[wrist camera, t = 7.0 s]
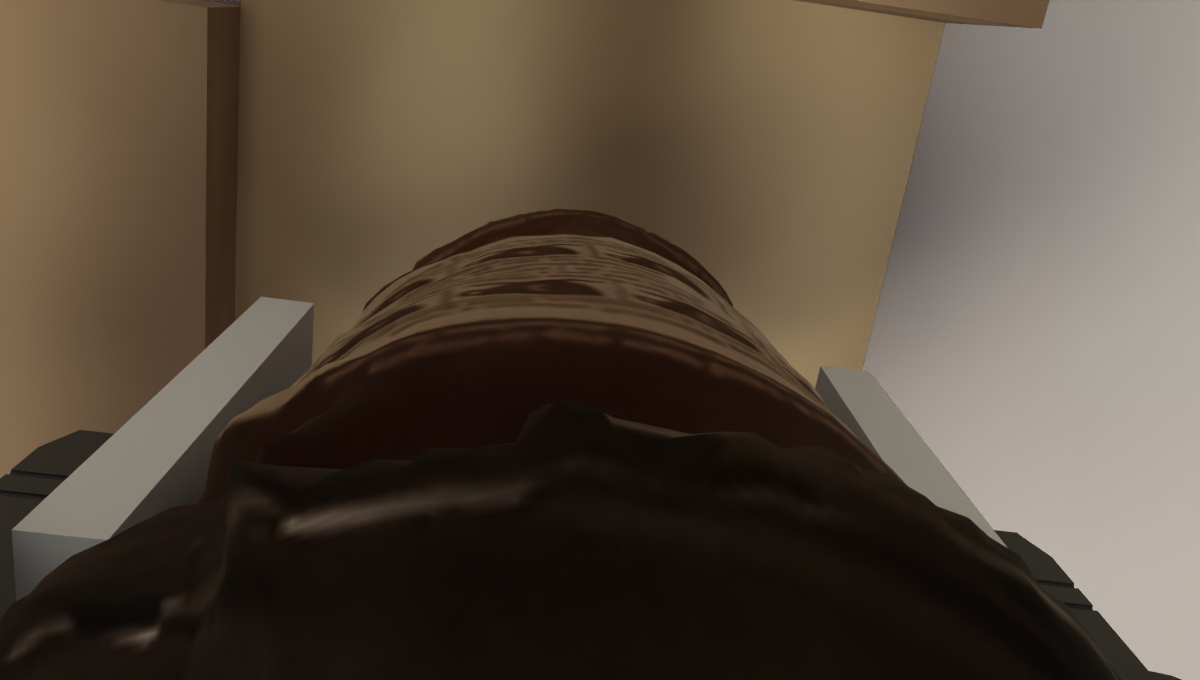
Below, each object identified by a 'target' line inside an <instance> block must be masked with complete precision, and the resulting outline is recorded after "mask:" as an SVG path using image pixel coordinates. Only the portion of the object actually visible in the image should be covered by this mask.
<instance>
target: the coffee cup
mask: <svg viewBox="0 0 1200 680" xmlns="http://www.w3.org/2000/svg"><path fill="white" fill-rule="evenodd" d="M0 680H1122V679H1121V678H1120V676H1119V675H1118V674H1117V673H1116V671H1115V670H1114V669H1113V668H1112V666H1111V665H1110V664H1109V663H1108V662H1107V660H1106V659H1105V657H1104V656H1103V654H1102V652H1101V651H1100V649H1099V647H1098V645H1097V644H1096V642H1095V640H1094V639H1093V637H1092V636H1091V635H1090V634H1089V632H1088V631H1087V630H1086V628H1085V627H1084V626H1083V625H1082V623H1081V622H1080V621H1079V619H1078V618H1077V617H1076V616H1075V614H1074V613H1073V612H1072V610H1071V609H1070V608H1069V607H1068V605H1067V604H1065V603H1063V602H1062V601H1060V600H1059V599H1057V598H1055V597H1054V596H1052V595H1051V594H1049V593H1048V592H1046V591H1044V590H1043V589H1042V588H1041V586H1040V585H1039V583H1038V582H1037V580H1036V579H1035V577H1034V576H1033V574H1032V573H1031V571H1030V570H1029V568H1028V567H1027V565H1026V563H1025V562H1024V560H1023V559H1022V557H1021V556H1020V555H1018V554H1016V553H1015V552H1013V551H1012V550H1010V549H1008V548H1007V547H1005V546H1003V545H1002V544H1000V543H999V542H997V541H995V540H994V539H992V538H991V537H989V536H988V535H987V534H986V533H985V532H984V531H982V530H981V529H980V528H979V527H978V526H977V525H976V524H975V523H974V522H973V521H972V520H971V519H969V518H968V517H965V516H963V515H960V514H957V513H955V512H952V511H949V510H946V509H944V508H941V507H938V506H936V505H935V504H934V503H933V502H932V501H930V500H929V499H928V498H927V497H926V496H924V495H922V494H921V493H919V492H917V491H915V490H914V489H912V488H910V487H909V486H907V485H906V483H905V482H904V481H903V480H902V479H901V478H900V477H899V476H898V475H897V474H896V473H895V472H894V471H893V470H892V469H891V468H890V467H889V466H888V465H887V464H886V463H885V462H884V461H883V460H882V459H881V458H880V457H878V456H877V455H876V454H875V453H874V452H873V451H872V450H871V449H870V448H869V447H867V446H866V445H865V444H864V443H863V442H862V441H861V440H860V439H859V438H858V437H857V436H856V435H855V434H854V433H853V432H852V430H851V429H850V428H849V427H848V426H847V425H846V424H845V423H844V422H843V421H842V420H841V419H840V418H839V417H838V416H837V415H835V414H834V413H833V412H832V411H831V410H830V409H829V408H828V407H827V406H826V405H825V403H824V401H823V399H822V398H821V396H820V395H819V394H818V392H817V391H816V390H815V388H814V387H813V386H812V384H811V383H810V382H809V381H807V380H806V379H805V378H804V377H803V376H802V375H801V374H800V373H798V372H797V371H796V370H795V369H794V368H793V367H792V366H790V364H789V363H788V362H787V360H786V359H785V358H784V357H783V356H782V355H781V354H780V353H779V352H778V351H777V349H776V348H775V347H774V346H773V345H772V344H771V343H770V342H769V340H768V339H767V338H766V337H765V336H764V335H763V333H762V332H761V331H760V330H759V329H758V328H757V327H756V326H755V325H754V324H753V323H752V322H751V321H750V320H749V319H747V318H746V317H745V316H744V315H743V314H742V313H740V312H739V311H738V310H736V309H735V308H734V307H733V304H732V302H731V300H730V298H729V297H728V295H727V293H726V291H725V290H724V289H723V287H722V286H721V285H720V283H719V282H718V281H717V280H716V279H715V278H714V277H713V276H712V275H711V274H710V273H709V272H708V271H707V270H706V269H705V268H704V267H703V266H702V265H701V264H700V263H699V262H698V261H697V260H696V259H695V258H694V257H692V256H691V255H690V254H689V253H687V252H686V251H685V250H684V249H682V248H681V247H679V246H677V245H675V244H673V243H671V242H669V241H667V240H665V239H664V238H662V237H660V236H658V235H656V234H654V233H652V232H650V231H647V230H645V229H643V228H641V227H639V226H637V225H634V224H632V223H629V222H627V221H625V220H623V219H620V218H618V217H615V216H612V215H609V214H606V213H603V212H599V211H592V210H572V209H553V210H544V211H535V212H530V213H524V214H519V215H515V216H511V217H507V218H503V219H499V220H495V221H490V222H487V223H485V224H483V225H481V226H480V227H478V228H476V229H474V230H472V231H470V232H468V233H466V234H464V235H462V236H460V237H458V238H457V239H455V240H453V241H451V242H449V243H446V244H444V245H442V246H439V247H437V248H435V249H433V250H431V251H430V252H428V253H426V254H425V255H423V256H421V257H420V258H418V259H417V260H416V262H415V264H414V266H413V268H412V270H411V271H410V272H408V273H405V274H403V275H402V276H400V277H398V278H397V279H395V280H394V281H392V282H390V283H389V284H387V285H385V286H384V287H383V288H382V289H381V290H379V291H378V292H377V293H376V294H375V295H374V296H373V297H372V298H371V299H370V300H369V301H368V302H367V303H366V304H365V307H364V309H363V312H362V314H361V315H360V317H359V319H358V320H357V321H356V323H355V324H354V325H353V326H352V327H351V329H350V330H349V331H347V332H344V333H342V334H340V335H338V336H337V337H336V338H335V340H334V341H333V342H332V343H331V344H330V346H329V347H328V348H327V349H326V351H324V352H323V353H322V354H321V356H320V357H319V358H318V359H317V361H316V362H315V363H314V364H313V366H312V367H311V368H310V369H309V370H308V372H306V373H305V374H304V375H303V376H302V377H301V378H299V379H298V380H297V381H296V382H295V383H294V384H293V385H292V386H291V387H289V388H288V389H286V390H283V391H281V392H279V393H276V394H274V395H272V396H269V397H267V398H265V399H262V400H260V401H259V402H258V403H256V404H255V405H254V406H253V407H251V408H250V409H248V410H247V411H245V412H243V413H241V414H239V415H237V416H235V417H234V418H232V420H231V421H230V422H229V424H228V425H227V426H226V428H225V429H224V430H223V431H222V432H221V433H220V435H219V436H218V437H217V439H216V440H215V442H214V446H213V450H212V454H211V459H210V464H209V470H208V476H207V482H206V488H205V490H204V492H203V494H202V496H201V498H200V500H199V502H198V504H191V505H183V506H175V507H172V508H170V509H168V510H165V511H163V512H161V513H159V514H157V515H155V516H153V517H151V518H149V519H147V520H145V521H142V522H140V523H138V524H136V525H134V526H132V527H130V528H128V529H127V530H125V531H123V532H121V533H119V534H118V535H116V536H114V537H112V538H110V539H108V540H106V541H104V542H101V543H99V544H97V545H95V546H92V547H90V548H88V549H86V550H83V551H81V552H79V553H77V554H75V555H72V556H71V557H70V558H68V559H67V560H66V561H65V562H63V563H62V564H61V565H59V566H58V567H57V568H56V569H54V570H53V571H52V572H50V573H49V574H48V575H47V576H45V577H44V578H43V579H42V580H41V581H40V582H39V584H38V585H37V586H36V587H35V588H34V590H33V591H32V592H31V593H30V594H28V595H26V596H25V597H23V598H21V599H20V600H18V601H16V602H14V603H13V604H11V605H10V607H9V608H8V609H7V611H6V612H5V614H4V615H3V617H2V618H1V620H0Z"/></svg>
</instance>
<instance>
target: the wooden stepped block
mask: <svg viewBox="0 0 1200 680" xmlns="http://www.w3.org/2000/svg"><path fill="white" fill-rule="evenodd" d="M1048 3H1049V0H240V5H238V4H231V3H224V2H217V1H210V0H0V478H1V477H3V476H4V475H5V474H9V475H10V473H11V469H12V468H13V467H15V466H16V465H17V464H18V463H20V462H21V461H22V460H23V459H24V458H26V457H27V456H28V455H29V454H30V453H32V452H33V451H34V450H35V449H36V448H38V447H39V446H42V445H44V444H47V443H49V442H52V441H54V440H56V439H59V438H61V437H64V436H66V435H69V434H71V433H73V432H76V431H78V430H87V431H96V432H105V433H113V434H115V433H116V432H117V431H118V430H119V429H120V428H121V427H122V426H123V425H124V424H125V423H127V422H128V421H129V420H130V419H131V418H132V417H133V416H134V415H135V414H136V413H137V412H138V411H139V410H140V409H142V408H143V407H144V406H145V405H146V404H147V403H148V402H149V401H150V400H151V399H152V398H153V397H154V396H155V395H156V394H158V393H159V392H160V391H161V390H162V389H163V388H164V387H165V386H166V385H167V384H168V383H169V382H170V381H171V380H173V379H174V378H175V377H176V376H177V375H178V374H179V373H180V372H181V371H182V370H183V369H184V368H185V367H186V366H188V365H189V364H190V363H191V362H192V361H193V360H194V359H195V358H196V357H197V356H198V355H199V354H200V353H201V352H203V351H204V350H205V349H206V348H207V347H208V346H209V345H210V344H211V343H212V342H213V341H214V340H215V339H216V338H217V337H219V336H220V335H221V334H222V333H223V332H224V331H225V330H226V329H227V328H228V327H229V326H230V325H231V324H232V323H234V322H235V321H236V320H237V319H238V318H239V317H240V316H241V315H242V314H243V313H244V312H245V311H246V310H247V309H249V308H250V307H251V306H252V305H253V304H254V303H255V302H256V301H257V300H258V299H259V298H260V297H268V298H276V299H284V300H292V301H300V302H308V303H314V321H313V343H312V366H313V364H314V363H315V362H316V361H317V359H318V358H319V357H320V356H321V354H322V353H323V352H324V351H326V349H327V348H328V347H329V346H330V344H331V343H332V342H333V341H334V340H335V338H336V337H337V336H338V335H340V334H342V333H344V332H347V331H349V330H350V329H351V327H352V326H353V325H354V324H355V323H356V321H357V320H358V319H359V317H360V315H361V314H362V312H363V309H364V307H365V304H366V303H367V302H368V301H369V300H370V299H371V298H372V297H373V296H374V295H375V294H376V293H377V292H378V291H379V290H381V289H382V288H383V287H384V286H385V285H387V284H389V283H390V282H392V281H394V280H395V279H397V278H398V277H400V276H402V275H403V274H405V273H408V272H410V271H411V270H412V268H413V266H414V264H415V262H416V260H417V259H418V258H420V257H421V256H423V255H425V254H426V253H428V252H430V251H431V250H433V249H435V248H437V247H439V246H442V245H444V244H446V243H449V242H451V241H453V240H455V239H457V238H458V237H460V236H462V235H464V234H466V233H468V232H470V231H472V230H474V229H476V228H478V227H480V226H481V225H483V224H485V223H487V222H490V221H495V220H499V219H503V218H507V217H511V216H515V215H519V214H524V213H530V212H535V211H544V210H553V209H572V210H592V211H599V212H603V213H606V214H609V215H612V216H615V217H618V218H620V219H623V220H625V221H627V222H629V223H632V224H634V225H637V226H639V227H641V228H643V229H645V230H647V231H650V232H652V233H654V234H656V235H658V236H660V237H662V238H664V239H665V240H667V241H669V242H671V243H673V244H675V245H677V246H679V247H681V248H682V249H684V250H685V251H686V252H687V253H689V254H690V255H691V256H692V257H694V258H695V259H696V260H697V261H698V262H699V263H700V264H701V265H702V266H703V267H704V268H705V269H706V270H707V271H708V272H709V273H710V274H711V275H712V276H713V277H714V278H715V279H716V280H717V281H718V282H719V283H720V285H721V286H722V287H723V289H724V290H725V291H726V293H727V295H728V297H729V298H730V300H731V302H732V304H733V307H734V308H735V309H736V310H738V311H739V312H740V313H742V314H743V315H744V316H745V317H746V318H747V319H749V320H750V321H751V322H752V323H753V324H754V325H755V326H756V327H757V328H758V329H759V330H760V331H761V332H762V333H763V335H764V336H765V337H766V338H767V339H768V340H769V342H770V343H771V344H772V345H773V346H774V347H775V348H776V349H777V351H778V352H779V353H780V354H781V355H782V356H783V357H784V358H785V359H786V360H787V362H788V363H789V364H790V366H792V367H793V368H794V369H795V370H796V371H797V372H798V373H800V374H801V375H802V376H803V377H804V378H805V379H806V380H807V381H809V382H810V383H811V384H812V386H813V387H814V388H815V387H816V382H817V378H818V374H819V369H820V366H828V367H836V368H844V369H852V370H860V371H862V368H863V364H864V360H865V356H866V352H867V347H868V343H869V339H870V335H871V331H872V327H873V322H874V318H875V314H876V310H877V306H878V301H879V297H880V293H881V289H882V285H883V281H884V276H885V272H886V268H887V264H888V260H889V256H890V251H891V247H892V243H893V239H894V235H895V230H896V226H897V222H898V218H899V214H900V210H901V205H902V201H903V197H904V193H905V189H906V184H907V180H908V176H909V172H910V168H911V164H912V159H913V155H914V151H915V147H916V143H917V139H918V134H919V130H920V126H921V122H922V118H923V113H924V109H925V105H926V101H927V97H928V93H929V88H930V84H931V80H932V76H933V72H934V68H935V63H936V59H937V55H938V51H939V47H940V42H941V38H942V34H943V30H944V26H945V23H957V24H975V25H992V26H1009V27H1026V28H1042V25H1043V21H1044V17H1045V14H1046V10H1047V6H1048ZM312 366H311V367H312Z"/></svg>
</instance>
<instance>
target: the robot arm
mask: <svg viewBox="0 0 1200 680" xmlns="http://www.w3.org/2000/svg"><path fill="white" fill-rule="evenodd" d="M313 321H314V303H308V302H300V301H292V300H284V299H276V298H268V297H260V298H259V299H258V300H257V301H256V302H255V303H254V304H253V305H252V306H251V307H250V308H249V309H247V310H246V311H245V312H244V313H243V314H242V315H241V316H240V317H239V318H238V319H237V320H236V321H235V322H234V323H232V324H231V325H230V326H229V327H228V328H227V329H226V330H225V331H224V332H223V333H222V334H221V335H220V336H219V337H217V338H216V339H215V340H214V341H213V342H212V343H211V344H210V345H209V346H208V347H207V348H206V349H205V350H204V351H203V352H201V353H200V354H199V355H198V356H197V357H196V358H195V359H194V360H193V361H192V362H191V363H190V364H189V365H188V366H186V367H185V368H184V369H183V370H182V371H181V372H180V373H179V374H178V375H177V376H176V377H175V378H174V379H173V380H171V381H170V382H169V383H168V384H167V385H166V386H165V387H164V388H163V389H162V390H161V391H160V392H159V393H158V394H156V395H155V396H154V397H153V398H152V399H151V400H150V401H149V402H148V403H147V404H146V405H145V406H144V407H143V408H142V409H140V410H139V411H138V412H137V413H136V414H135V415H134V416H133V417H132V418H131V419H130V420H129V421H128V422H127V423H125V424H124V425H123V426H122V427H121V428H120V429H119V430H118V431H117V432H116V433H115V434H113V433H105V432H96V431H87V430H78V431H76V432H73V433H71V434H69V435H66V436H64V437H61V438H59V439H56V440H54V441H52V442H49V443H47V444H44V445H42V446H39V447H38V448H36V449H35V450H34V451H33V452H32V453H30V454H29V455H28V456H27V457H26V458H24V459H23V460H22V461H21V462H20V463H18V464H17V465H16V466H15V467H13V468H12V469H11V473H10V475H9V474H5V475H4V476H3V477H1V478H0V620H1V618H2V617H3V615H4V614H5V612H6V611H7V609H8V608H9V607H10V605H11V604H13V603H14V602H16V601H18V600H20V599H21V598H23V597H25V596H26V595H28V594H30V593H31V592H32V591H33V590H34V588H35V587H36V586H37V585H38V584H39V582H40V581H41V580H42V579H43V578H44V577H45V576H47V575H48V574H49V573H50V572H52V571H53V570H54V569H56V568H57V567H58V566H59V565H61V564H62V563H63V562H65V561H66V560H67V559H68V558H70V557H71V556H72V555H75V554H77V553H79V552H81V551H83V550H86V549H88V548H90V547H92V546H95V545H97V544H99V543H101V542H104V541H106V540H108V539H110V538H112V537H114V536H116V535H118V534H119V533H121V532H123V531H125V530H127V529H128V528H130V527H132V526H134V525H136V524H138V523H140V522H142V521H145V520H147V519H149V518H151V517H153V516H155V515H157V514H159V513H161V512H163V511H165V510H168V509H170V508H172V507H175V506H183V505H191V504H198V502H199V500H200V498H201V496H202V494H203V492H204V490H205V488H206V482H207V476H208V470H209V464H210V459H211V454H212V450H213V446H214V442H215V440H216V439H217V437H218V436H219V435H220V433H221V432H222V431H223V430H224V429H225V428H226V426H227V425H228V424H229V422H230V421H231V420H232V418H234V417H235V416H237V415H239V414H241V413H243V412H245V411H247V410H248V409H250V408H251V407H253V406H254V405H255V404H256V403H258V402H259V401H260V400H262V399H265V398H267V397H269V396H272V395H274V394H276V393H279V392H281V391H283V390H286V389H288V388H289V387H291V386H292V385H293V384H294V383H295V382H296V381H297V380H298V379H299V378H301V377H302V376H303V375H304V374H305V373H306V372H308V370H309V369H310V368H311V366H312V343H313ZM815 390H816V391H817V392H818V394H819V395H820V396H821V398H822V399H823V401H824V403H825V405H826V406H827V407H828V408H829V409H830V410H831V411H832V412H833V413H834V414H835V415H837V416H838V417H839V418H840V419H841V420H842V421H843V422H844V423H845V424H846V425H847V426H848V427H849V428H850V429H851V430H852V432H853V433H854V434H855V435H856V436H857V437H858V438H859V439H860V440H861V441H862V442H863V443H864V444H865V445H866V446H867V447H869V448H870V449H871V450H872V451H873V452H874V453H875V454H876V455H877V456H878V457H880V458H881V459H882V460H883V461H884V462H885V463H886V464H887V465H888V466H889V467H890V468H891V469H892V470H893V471H894V472H895V473H896V474H897V475H898V476H899V477H900V478H901V479H902V480H903V481H904V482H905V483H906V485H907V486H909V487H910V488H912V489H914V490H915V491H917V492H919V493H921V494H922V495H924V496H926V497H927V498H928V499H929V500H930V501H932V502H933V503H934V504H935V505H936V506H938V507H941V508H944V509H946V510H949V511H952V512H955V513H957V514H960V515H963V516H965V517H968V518H969V519H971V520H972V521H973V522H974V523H975V524H976V525H977V526H978V527H979V528H980V529H981V530H982V531H984V532H985V533H986V534H987V535H988V536H989V537H991V538H992V539H994V540H995V541H997V542H999V543H1000V544H1002V545H1003V546H1005V547H1007V548H1008V549H1010V550H1012V551H1013V552H1015V553H1016V554H1018V555H1020V556H1021V557H1022V559H1023V560H1024V562H1025V563H1026V565H1027V567H1028V568H1029V570H1030V571H1031V573H1032V574H1033V576H1034V577H1035V579H1036V580H1037V582H1038V583H1039V585H1040V586H1041V588H1042V589H1043V590H1044V591H1046V592H1048V593H1049V594H1051V595H1052V596H1054V597H1055V598H1057V599H1059V600H1060V601H1062V602H1063V603H1065V604H1067V605H1068V607H1069V608H1070V609H1071V610H1072V612H1073V613H1074V614H1075V616H1076V617H1077V618H1078V619H1079V621H1080V622H1081V623H1082V625H1083V626H1084V627H1085V628H1086V630H1087V631H1088V632H1089V634H1090V635H1091V636H1092V637H1093V639H1094V640H1095V642H1096V644H1097V645H1098V647H1099V649H1100V651H1101V652H1102V654H1103V656H1104V657H1105V659H1106V660H1107V662H1108V663H1109V664H1110V665H1111V666H1112V668H1113V669H1114V670H1115V671H1116V673H1117V674H1118V675H1119V676H1120V678H1121V679H1122V680H1181V679H1178V678H1176V677H1173V676H1170V675H1165V674H1161V673H1156V672H1151V671H1148V670H1147V669H1146V668H1145V666H1144V665H1143V664H1142V663H1141V662H1140V661H1139V659H1138V658H1137V657H1136V656H1135V655H1134V654H1133V652H1132V651H1131V650H1130V649H1129V648H1128V646H1127V645H1126V644H1125V643H1124V642H1123V641H1122V639H1121V638H1120V637H1119V636H1118V635H1117V633H1116V632H1115V631H1114V630H1113V629H1112V628H1111V626H1110V625H1109V624H1108V623H1107V622H1106V621H1105V619H1104V618H1103V617H1102V616H1101V615H1100V613H1099V612H1098V611H1093V610H1092V606H1093V605H1092V604H1091V603H1090V602H1089V601H1088V599H1087V598H1086V597H1085V596H1084V595H1083V593H1082V592H1081V591H1080V590H1079V589H1076V588H1074V583H1073V582H1072V580H1071V579H1070V578H1069V577H1068V576H1067V575H1066V573H1065V572H1064V571H1063V570H1062V569H1061V568H1060V566H1059V565H1058V564H1057V563H1056V562H1055V560H1054V559H1053V558H1052V557H1051V556H1049V555H1048V554H1046V553H1045V552H1043V551H1042V550H1041V549H1039V548H1038V547H1036V546H1035V545H1033V544H1032V543H1030V542H1029V541H1028V540H1026V539H1025V538H1023V537H1022V536H1020V535H1019V534H1017V533H1014V532H1006V531H997V530H993V529H992V527H991V526H990V525H989V523H988V522H987V521H986V520H985V518H984V517H983V516H982V514H981V513H980V512H979V511H978V509H977V508H976V507H975V506H974V504H973V503H972V502H971V500H970V499H969V498H968V497H967V495H966V494H965V493H964V491H963V490H962V489H961V488H960V486H959V485H958V484H957V483H956V481H955V480H954V479H953V477H952V476H951V475H950V474H949V472H948V471H947V470H946V469H945V467H944V466H943V465H942V463H941V462H940V461H939V460H938V458H937V457H936V456H935V454H934V453H933V452H932V451H931V449H930V448H929V447H928V446H927V444H926V443H925V442H924V440H923V439H922V438H921V437H920V435H919V434H918V433H917V431H916V430H915V429H914V428H913V426H912V425H911V424H910V423H909V421H908V420H907V419H906V417H905V416H904V415H903V414H902V412H901V411H900V410H899V408H898V407H897V406H896V405H895V403H894V402H893V401H892V400H891V398H890V397H889V396H888V394H887V393H886V392H885V391H884V389H883V388H882V387H881V385H880V384H879V383H878V382H877V380H876V379H875V378H874V377H873V375H872V374H871V373H870V372H868V371H860V370H852V369H844V368H836V367H828V366H820V369H819V374H818V378H817V382H816V387H815Z"/></svg>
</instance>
